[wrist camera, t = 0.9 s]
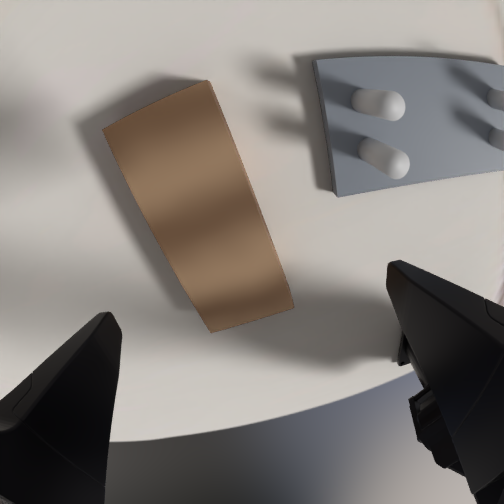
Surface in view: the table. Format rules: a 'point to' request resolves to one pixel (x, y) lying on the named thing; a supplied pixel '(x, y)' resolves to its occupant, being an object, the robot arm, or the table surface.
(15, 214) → the table surface
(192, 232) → the shelf board
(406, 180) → the peg stand
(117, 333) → the robot arm
